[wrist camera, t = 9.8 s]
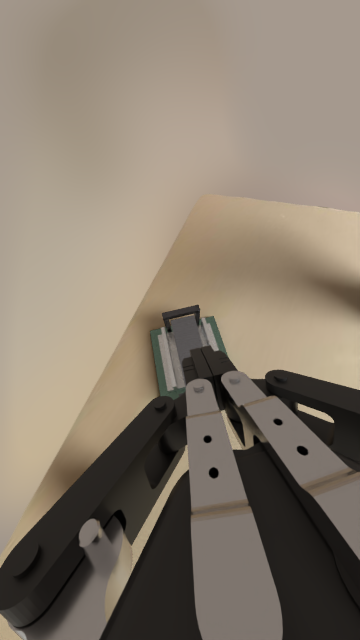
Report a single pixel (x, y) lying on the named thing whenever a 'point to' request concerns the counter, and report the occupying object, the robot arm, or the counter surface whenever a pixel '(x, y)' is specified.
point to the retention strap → (186, 337)
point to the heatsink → (167, 350)
